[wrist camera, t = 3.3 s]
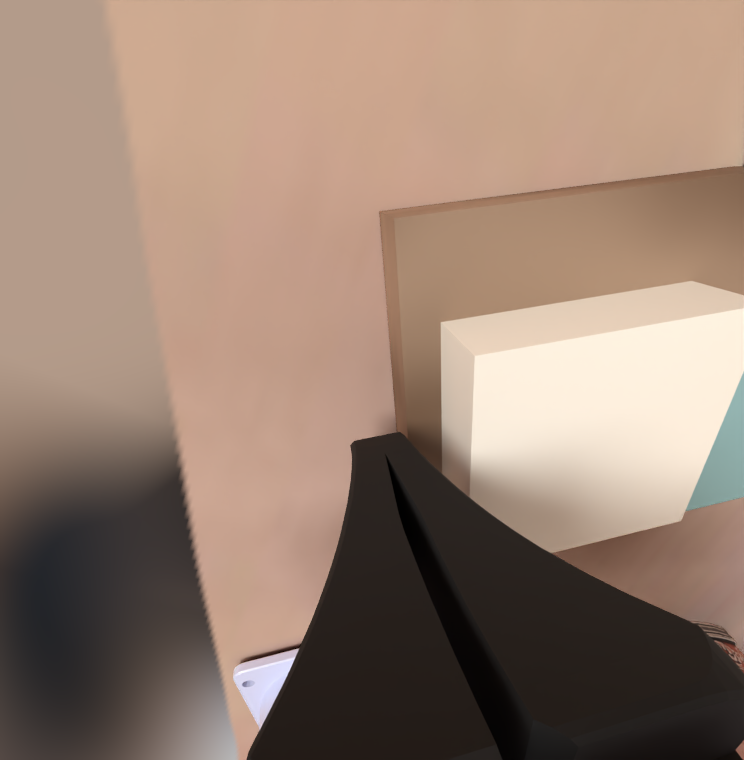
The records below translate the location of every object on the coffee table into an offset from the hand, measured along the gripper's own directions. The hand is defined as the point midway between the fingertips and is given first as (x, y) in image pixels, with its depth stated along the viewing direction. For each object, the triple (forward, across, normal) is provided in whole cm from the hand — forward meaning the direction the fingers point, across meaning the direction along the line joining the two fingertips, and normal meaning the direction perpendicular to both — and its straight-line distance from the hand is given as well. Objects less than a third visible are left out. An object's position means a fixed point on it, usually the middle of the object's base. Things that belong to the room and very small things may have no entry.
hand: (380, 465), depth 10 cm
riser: (+2, -6, 0) cm, 6 cm away
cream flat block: (+1, -6, 0) cm, 6 cm away
